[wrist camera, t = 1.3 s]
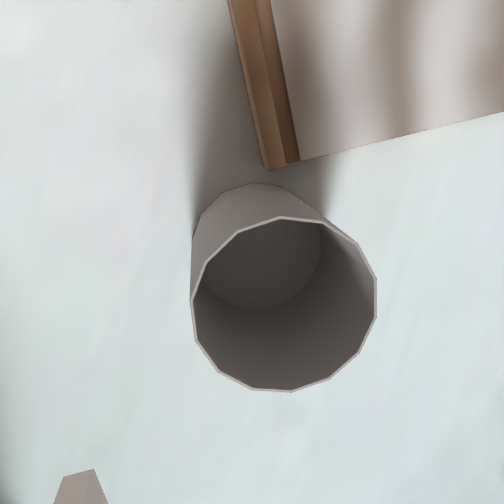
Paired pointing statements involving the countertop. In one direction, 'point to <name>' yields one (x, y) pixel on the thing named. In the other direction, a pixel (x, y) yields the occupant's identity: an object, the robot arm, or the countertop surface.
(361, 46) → the wooden tray
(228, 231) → the cup
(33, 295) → the countertop surface
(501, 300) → the countertop surface
